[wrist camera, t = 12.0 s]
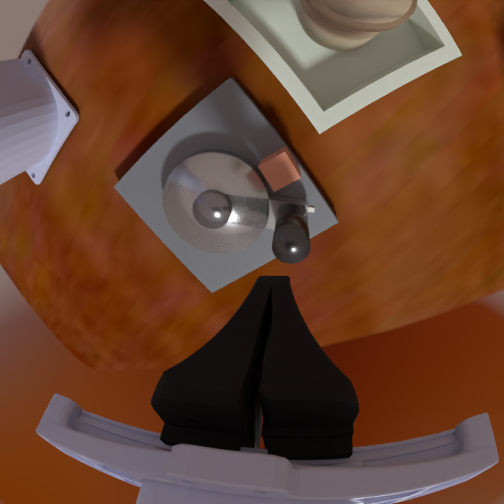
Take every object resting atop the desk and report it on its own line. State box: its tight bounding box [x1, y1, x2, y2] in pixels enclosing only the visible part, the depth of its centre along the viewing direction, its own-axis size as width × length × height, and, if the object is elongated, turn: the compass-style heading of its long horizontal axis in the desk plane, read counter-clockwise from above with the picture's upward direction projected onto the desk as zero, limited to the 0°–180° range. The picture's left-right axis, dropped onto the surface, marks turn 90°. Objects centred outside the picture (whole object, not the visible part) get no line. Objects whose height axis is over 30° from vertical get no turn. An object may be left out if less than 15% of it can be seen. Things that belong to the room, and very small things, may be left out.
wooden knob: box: [299, 0, 418, 51], centre depth 8 cm, size 4×4×6 cm
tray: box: [204, 0, 462, 134], centre depth 10 cm, size 10×10×3 cm
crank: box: [163, 150, 310, 264], centre depth 15 cm, size 9×6×4 cm
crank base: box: [114, 77, 338, 293], centre depth 17 cm, size 10×10×2 cm
